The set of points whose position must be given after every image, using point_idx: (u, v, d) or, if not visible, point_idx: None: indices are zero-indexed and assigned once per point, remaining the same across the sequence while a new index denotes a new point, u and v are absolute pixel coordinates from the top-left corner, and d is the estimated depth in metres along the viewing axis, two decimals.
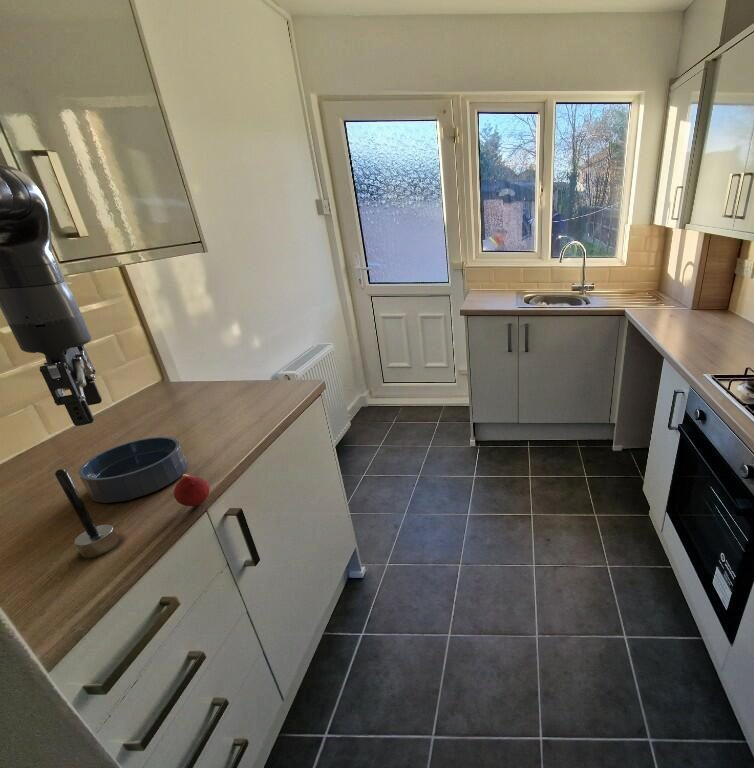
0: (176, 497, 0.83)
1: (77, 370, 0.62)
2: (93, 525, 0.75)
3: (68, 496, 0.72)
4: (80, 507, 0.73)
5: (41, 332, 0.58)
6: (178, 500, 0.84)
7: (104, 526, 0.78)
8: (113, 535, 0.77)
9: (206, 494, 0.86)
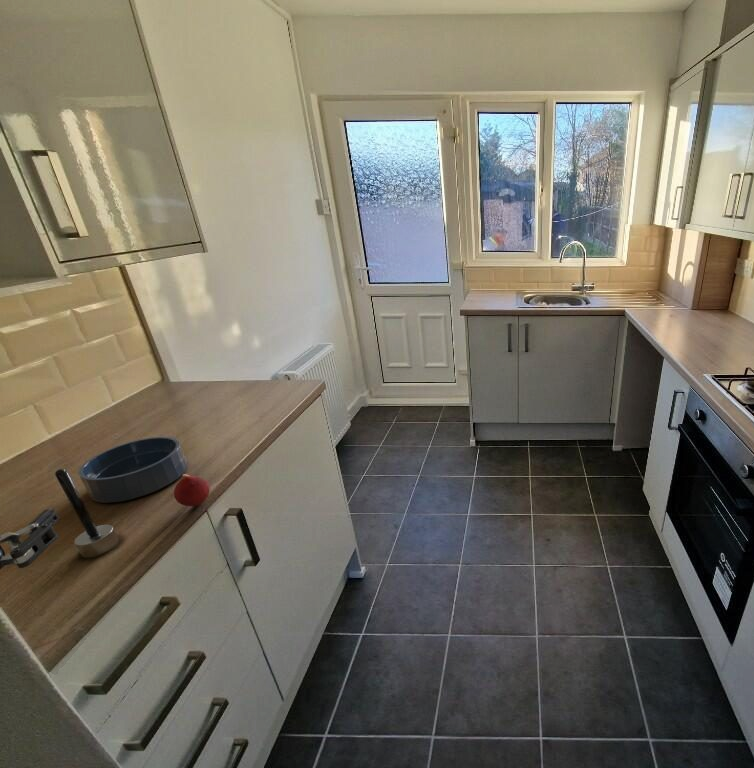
0: (176, 497, 0.83)
1: None
2: (93, 525, 0.75)
3: (68, 496, 0.72)
4: (80, 507, 0.73)
5: None
6: (178, 500, 0.84)
7: (104, 526, 0.78)
8: (113, 535, 0.77)
9: (206, 494, 0.86)
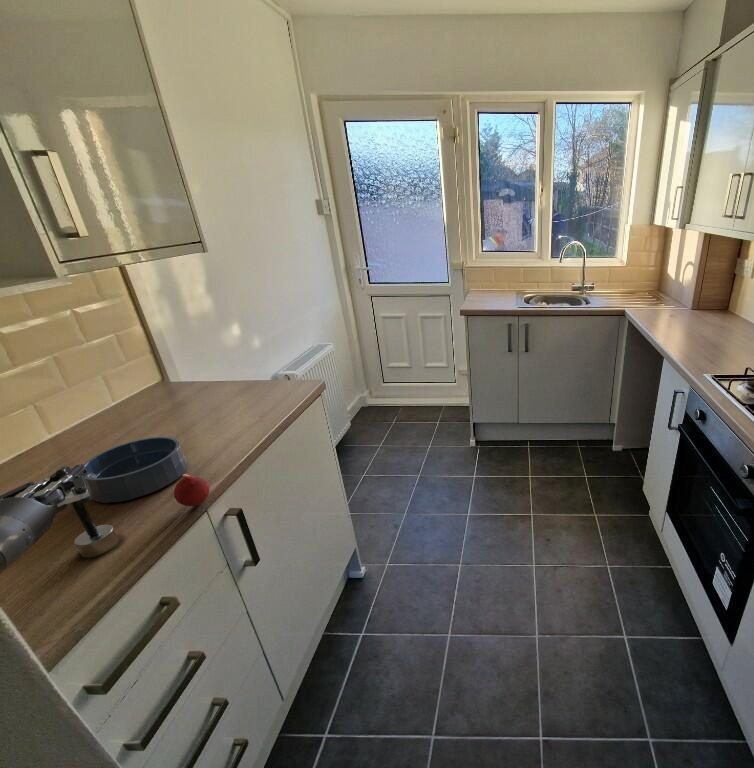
0: (176, 497, 0.83)
1: None
2: (93, 525, 0.75)
3: None
4: (80, 507, 0.73)
5: None
6: (178, 500, 0.84)
7: (104, 526, 0.78)
8: (113, 535, 0.77)
9: (206, 494, 0.86)
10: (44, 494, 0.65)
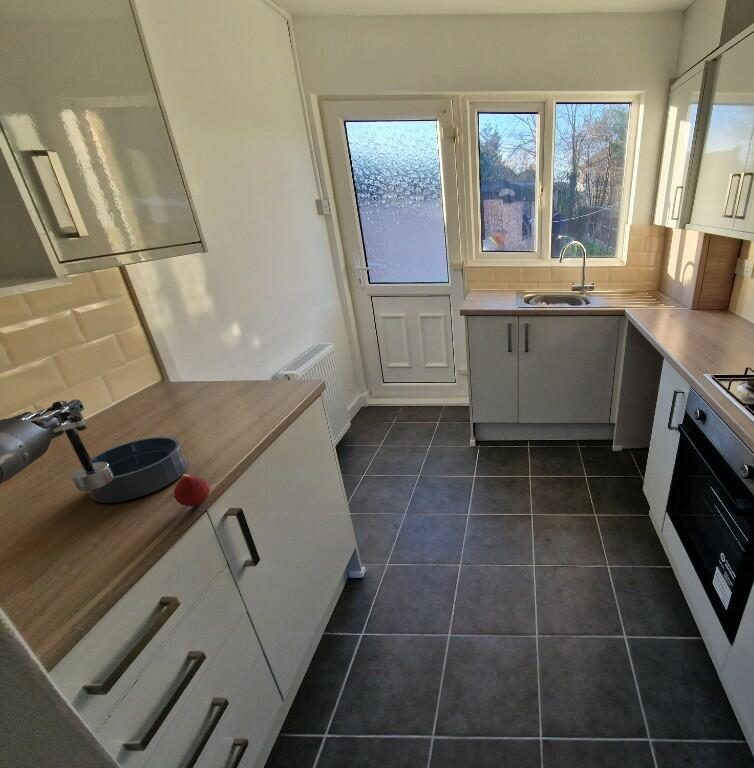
0: (176, 497, 0.83)
1: None
2: (89, 460, 0.77)
3: None
4: (76, 440, 0.75)
5: None
6: (178, 500, 0.84)
7: (100, 463, 0.80)
8: (108, 471, 0.79)
9: (206, 494, 0.86)
10: (41, 420, 0.67)
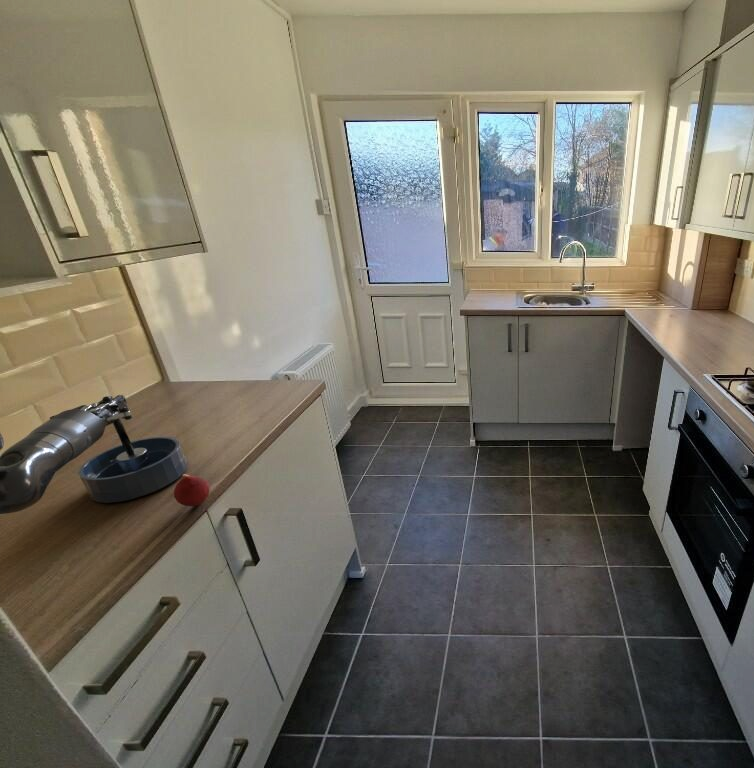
0: (176, 497, 0.83)
1: None
2: (131, 445, 0.92)
3: None
4: (121, 429, 0.90)
5: None
6: (178, 500, 0.84)
7: (139, 448, 0.95)
8: (146, 455, 0.94)
9: (206, 494, 0.86)
10: (96, 410, 0.82)
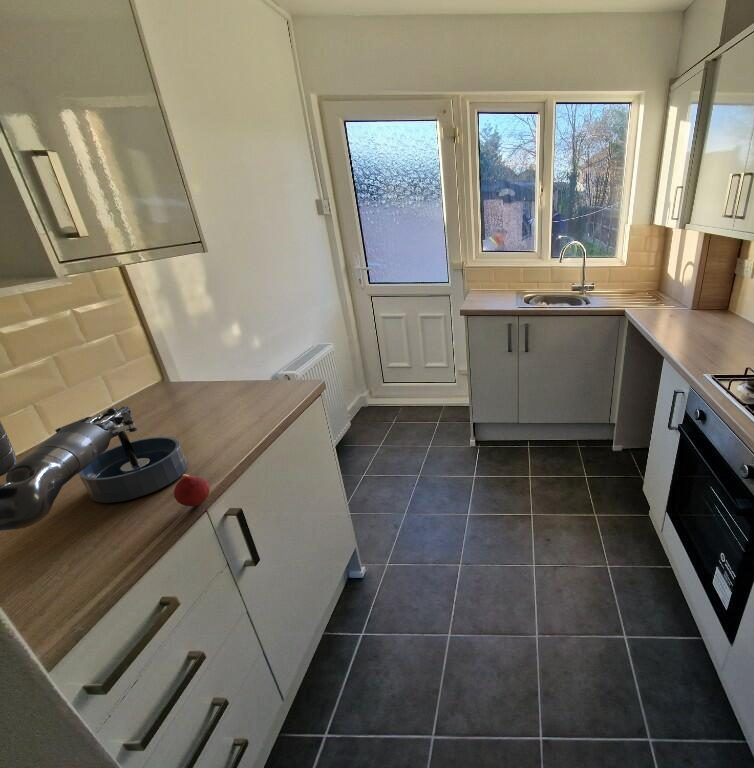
0: (176, 497, 0.83)
1: None
2: (135, 456, 0.93)
3: None
4: (125, 440, 0.91)
5: None
6: (178, 500, 0.84)
7: (142, 459, 0.96)
8: None
9: (206, 494, 0.86)
10: (102, 423, 0.83)
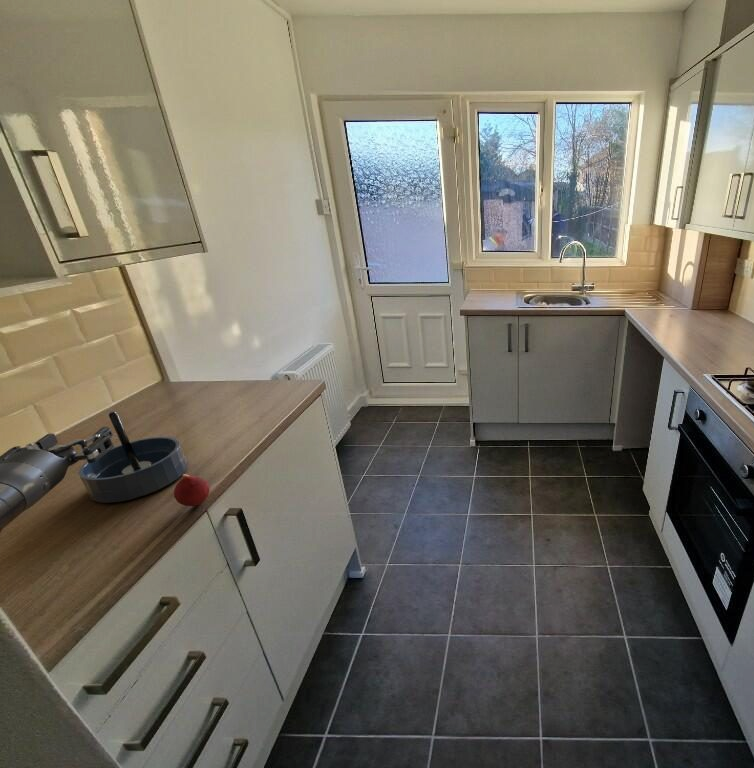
0: (176, 497, 0.83)
1: None
2: (136, 459, 0.94)
3: (118, 434, 0.90)
4: (127, 443, 0.92)
5: None
6: (178, 500, 0.84)
7: (144, 462, 0.96)
8: None
9: (206, 494, 0.86)
10: (58, 449, 0.72)
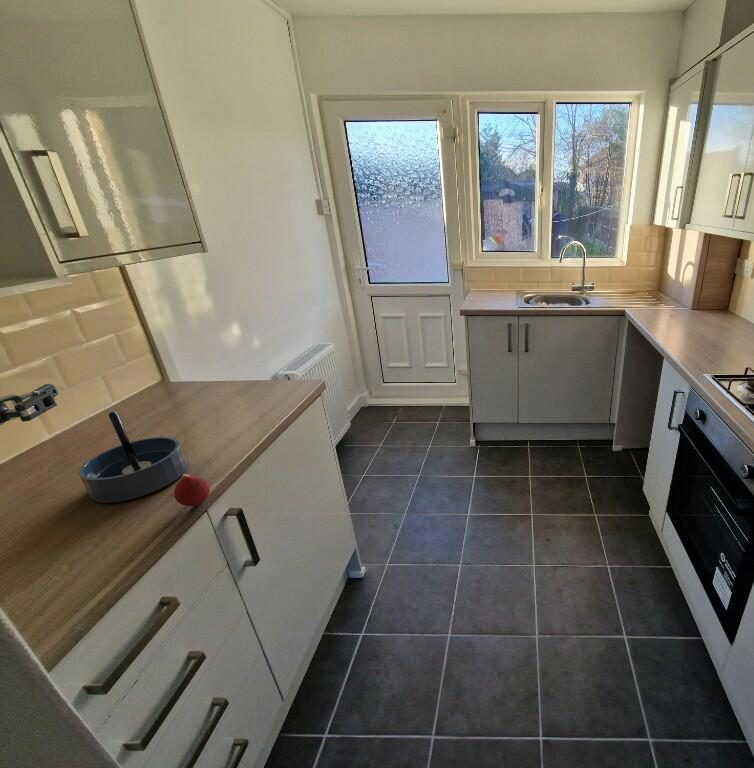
0: (176, 497, 0.83)
1: None
2: (136, 459, 0.94)
3: (118, 434, 0.90)
4: (127, 443, 0.92)
5: None
6: (178, 500, 0.84)
7: (144, 462, 0.96)
8: None
9: (206, 494, 0.86)
10: None
